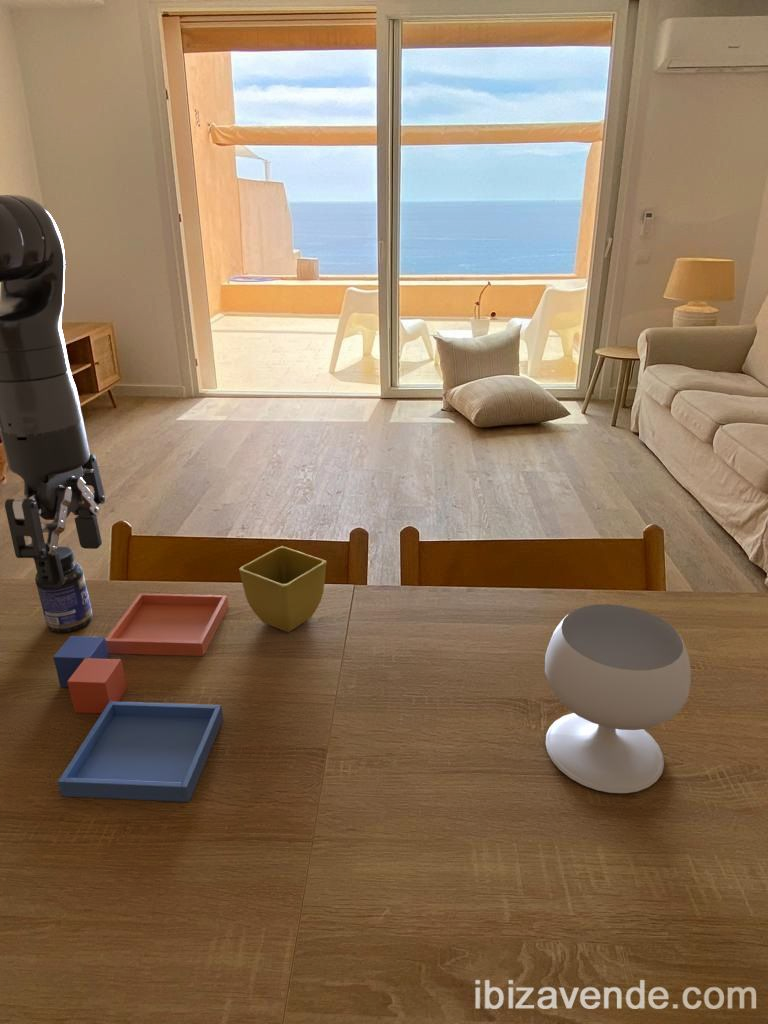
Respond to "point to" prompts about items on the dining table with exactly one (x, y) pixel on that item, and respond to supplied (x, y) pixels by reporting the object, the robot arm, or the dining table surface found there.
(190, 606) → the terracotta tray
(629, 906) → the dining table surface
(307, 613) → the flower pot
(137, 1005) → the dining table surface
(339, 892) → the dining table surface
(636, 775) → the chalice
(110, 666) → the terracotta block
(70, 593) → the pill bottle
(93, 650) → the slate-blue block
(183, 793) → the slate-blue tray
